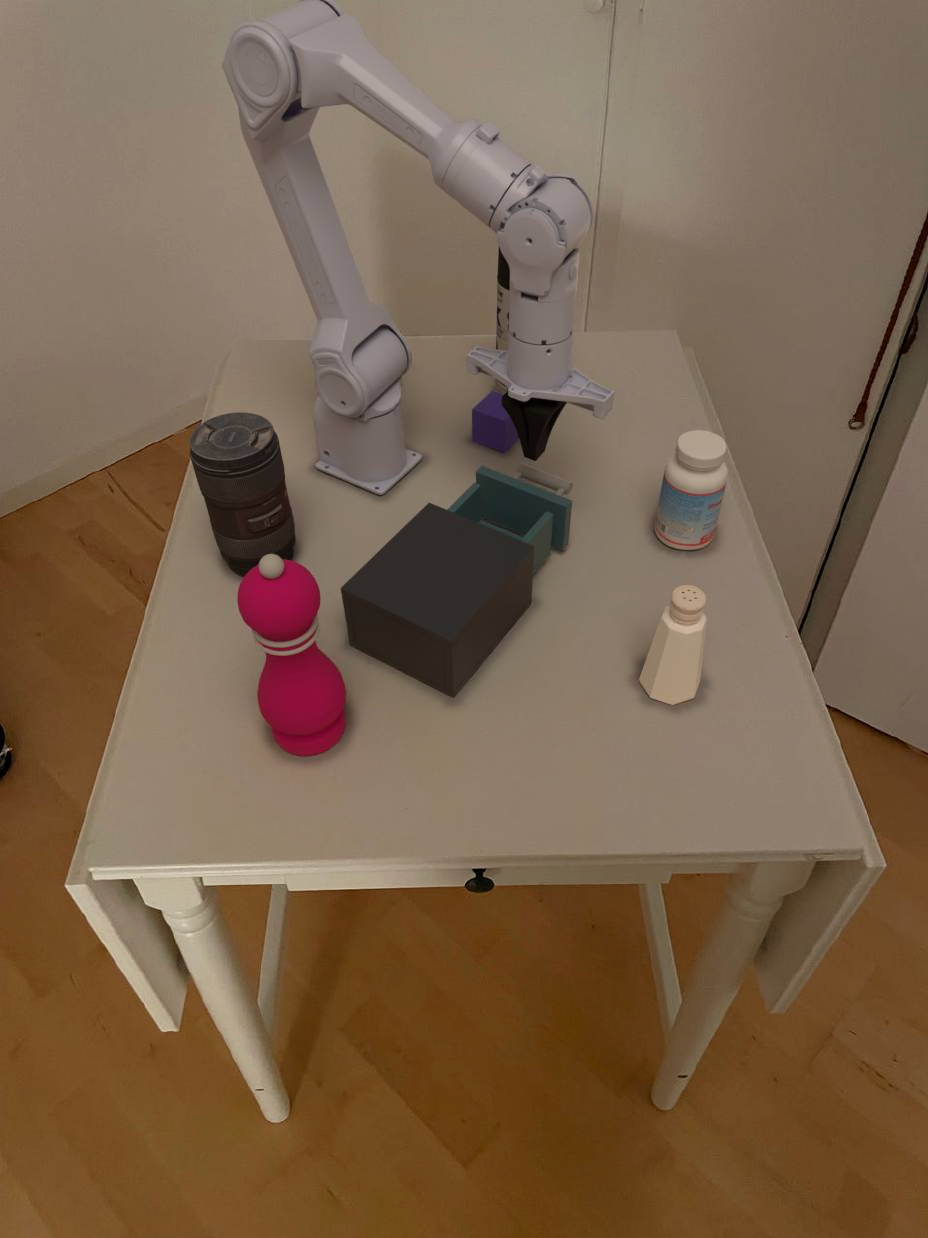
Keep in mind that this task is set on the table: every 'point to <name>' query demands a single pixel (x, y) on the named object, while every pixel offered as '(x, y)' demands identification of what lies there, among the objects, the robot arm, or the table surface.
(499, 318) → the spray can
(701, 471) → the pill bottle
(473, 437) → the purple upright block
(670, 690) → the salt shaker
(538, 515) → the teal drawer
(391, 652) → the dark drawer box
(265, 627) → the pepper mill
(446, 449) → the table surface
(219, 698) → the table surface
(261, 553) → the camera lens
